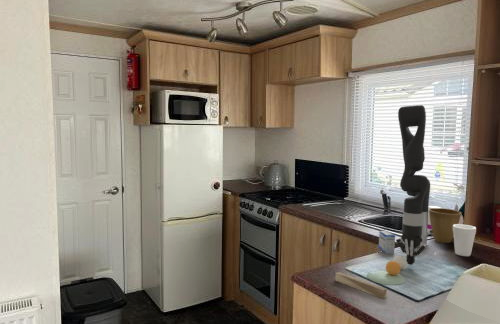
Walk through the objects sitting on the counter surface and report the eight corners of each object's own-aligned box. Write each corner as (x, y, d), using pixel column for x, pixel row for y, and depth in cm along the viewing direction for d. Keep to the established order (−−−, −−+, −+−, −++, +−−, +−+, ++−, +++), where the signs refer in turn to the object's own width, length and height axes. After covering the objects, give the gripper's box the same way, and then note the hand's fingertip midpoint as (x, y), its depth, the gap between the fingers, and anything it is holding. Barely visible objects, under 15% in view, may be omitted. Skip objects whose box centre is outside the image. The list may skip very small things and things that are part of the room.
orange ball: (387, 268, 157) (380, 265, 154) (397, 260, 156) (391, 256, 152) (394, 279, 153) (388, 276, 150) (405, 271, 152) (399, 267, 148)
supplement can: (443, 235, 212) (444, 208, 211) (427, 234, 214) (428, 207, 212) (439, 232, 220) (440, 205, 219) (423, 231, 222) (424, 205, 220)
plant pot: (442, 246, 193) (443, 214, 191) (421, 238, 207) (422, 208, 206) (466, 244, 196) (468, 213, 195) (444, 236, 211) (446, 207, 209)
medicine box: (378, 248, 188) (379, 230, 187) (387, 248, 188) (387, 230, 187) (385, 253, 180) (386, 235, 179) (394, 253, 180) (395, 235, 180)
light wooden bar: (338, 279, 147) (339, 271, 147) (386, 297, 132) (386, 288, 132) (335, 280, 146) (335, 272, 146) (383, 298, 131) (383, 290, 130)
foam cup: (469, 258, 174) (471, 230, 173) (448, 253, 181) (449, 226, 180) (477, 254, 180) (479, 226, 179) (456, 249, 187) (457, 223, 186)
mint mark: (361, 271, 156) (361, 271, 156) (395, 271, 157) (395, 270, 157) (375, 285, 142) (375, 284, 142) (412, 284, 143) (412, 284, 143)
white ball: (395, 256, 164) (393, 269, 162) (392, 253, 160) (391, 266, 158) (408, 258, 161) (407, 272, 159) (406, 255, 157) (405, 268, 155)
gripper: (392, 221, 163) (390, 261, 164) (423, 227, 152) (421, 270, 154) (402, 218, 167) (400, 258, 169) (432, 224, 157) (430, 266, 159)
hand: (410, 264), depth 161 cm, fingers closed
